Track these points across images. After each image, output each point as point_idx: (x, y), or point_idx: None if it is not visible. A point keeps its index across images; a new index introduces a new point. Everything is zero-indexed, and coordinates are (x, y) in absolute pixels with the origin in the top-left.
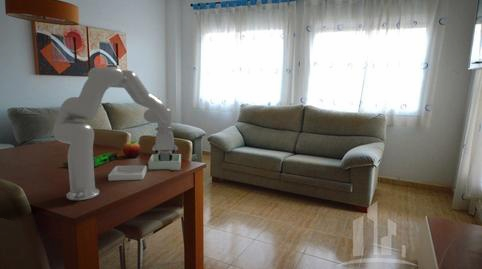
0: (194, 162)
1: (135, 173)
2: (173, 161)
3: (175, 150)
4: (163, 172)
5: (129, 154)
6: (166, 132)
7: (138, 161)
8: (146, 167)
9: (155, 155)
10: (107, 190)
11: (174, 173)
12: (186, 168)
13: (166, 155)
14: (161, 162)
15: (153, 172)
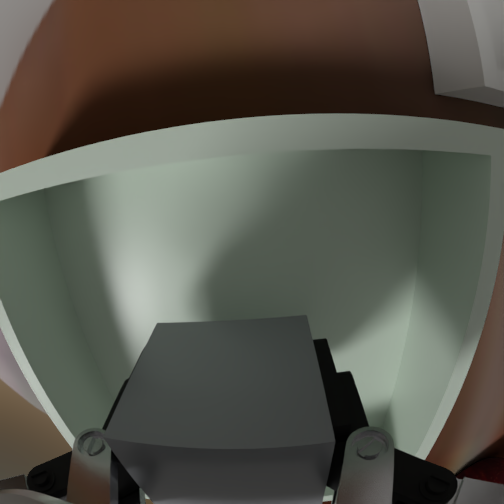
0: (34, 401)
1: (502, 7)
2: (19, 167)
3: (25, 480)
4: (213, 38)
5: (500, 464)
6: None
7: (472, 422)
8: (465, 34)
9: None
10: None
11: (77, 26)
12: None
13: (178, 409)
14: (255, 117)
15: (352, 45)
